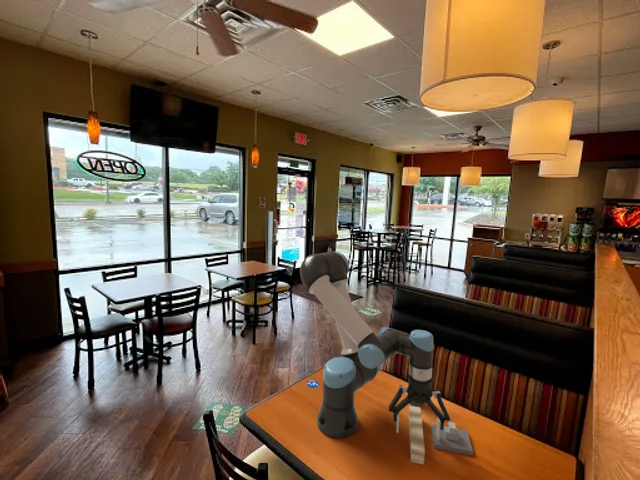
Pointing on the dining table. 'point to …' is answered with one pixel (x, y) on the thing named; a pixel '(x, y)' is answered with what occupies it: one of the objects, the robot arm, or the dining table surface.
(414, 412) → the beam
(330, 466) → the dining table surface
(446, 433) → the fulcrum
